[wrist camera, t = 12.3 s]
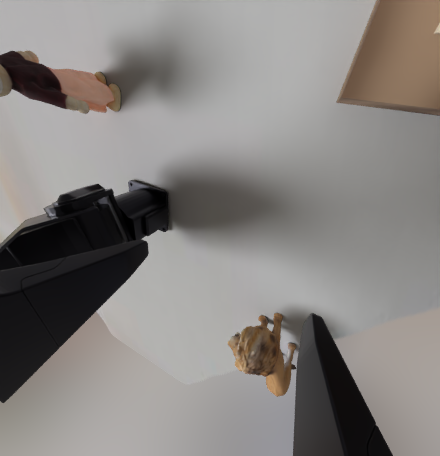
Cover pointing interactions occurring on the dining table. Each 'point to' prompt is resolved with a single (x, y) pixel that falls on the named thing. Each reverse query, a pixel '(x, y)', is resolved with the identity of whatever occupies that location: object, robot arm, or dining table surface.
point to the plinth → (398, 59)
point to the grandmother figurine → (56, 84)
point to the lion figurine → (264, 354)
